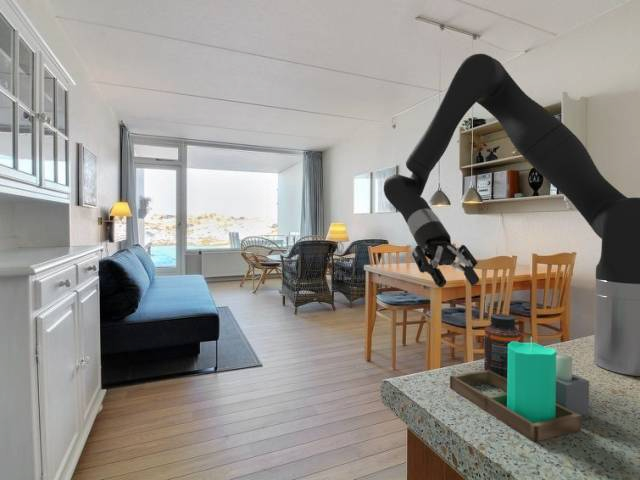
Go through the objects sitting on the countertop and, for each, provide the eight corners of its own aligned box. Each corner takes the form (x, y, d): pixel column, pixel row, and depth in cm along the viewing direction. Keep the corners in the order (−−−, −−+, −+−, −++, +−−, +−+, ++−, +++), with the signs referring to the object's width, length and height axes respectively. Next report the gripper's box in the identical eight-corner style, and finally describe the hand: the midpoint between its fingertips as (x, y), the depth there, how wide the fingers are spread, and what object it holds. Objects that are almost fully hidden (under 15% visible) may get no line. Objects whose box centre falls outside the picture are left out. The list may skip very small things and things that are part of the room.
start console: (558, 399, 56) (558, 368, 55) (588, 414, 51) (589, 380, 51) (536, 404, 54) (537, 372, 54) (565, 419, 50) (566, 385, 50)
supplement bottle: (525, 384, 61) (526, 321, 61) (489, 382, 62) (489, 319, 62) (513, 371, 67) (514, 313, 66) (480, 368, 68) (481, 311, 68)
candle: (564, 433, 46) (565, 345, 46) (515, 429, 47) (516, 342, 47) (543, 410, 52) (544, 331, 52) (500, 407, 53) (501, 330, 53)
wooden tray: (488, 380, 63) (488, 369, 62) (580, 429, 47) (581, 415, 47) (449, 387, 60) (450, 376, 60) (534, 442, 45) (534, 426, 44)
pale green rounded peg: (560, 391, 54) (561, 353, 54) (575, 398, 52) (576, 358, 52) (549, 393, 53) (550, 355, 53) (564, 400, 51) (564, 360, 51)
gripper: (408, 219, 80) (440, 275, 70) (459, 220, 85) (495, 272, 74) (396, 241, 86) (424, 296, 75) (444, 241, 90) (477, 292, 80)
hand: (459, 284), depth 75 cm, fingers open, 8 cm apart
